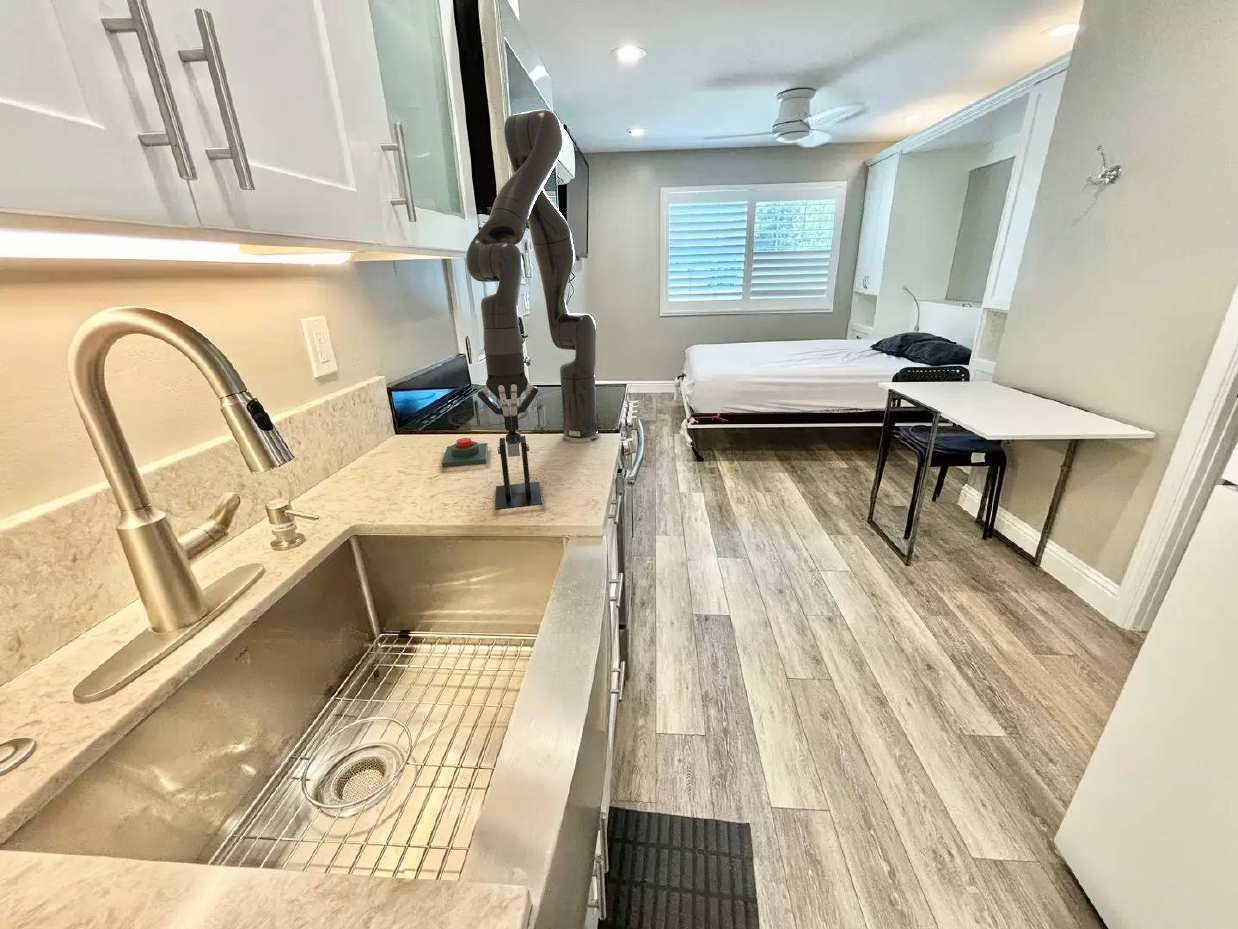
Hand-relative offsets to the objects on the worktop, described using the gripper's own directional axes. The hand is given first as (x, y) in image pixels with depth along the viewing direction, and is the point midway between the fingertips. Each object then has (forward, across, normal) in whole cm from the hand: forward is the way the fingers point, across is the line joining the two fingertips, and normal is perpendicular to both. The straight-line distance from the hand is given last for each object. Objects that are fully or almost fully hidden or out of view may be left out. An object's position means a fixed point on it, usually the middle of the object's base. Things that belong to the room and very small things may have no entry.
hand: (512, 431), depth 105 cm
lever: (+3, 0, +5) cm, 6 cm away
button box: (+11, +12, -16) cm, 23 cm away
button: (+8, +12, -15) cm, 21 cm away
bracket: (+11, 0, +10) cm, 15 cm away
